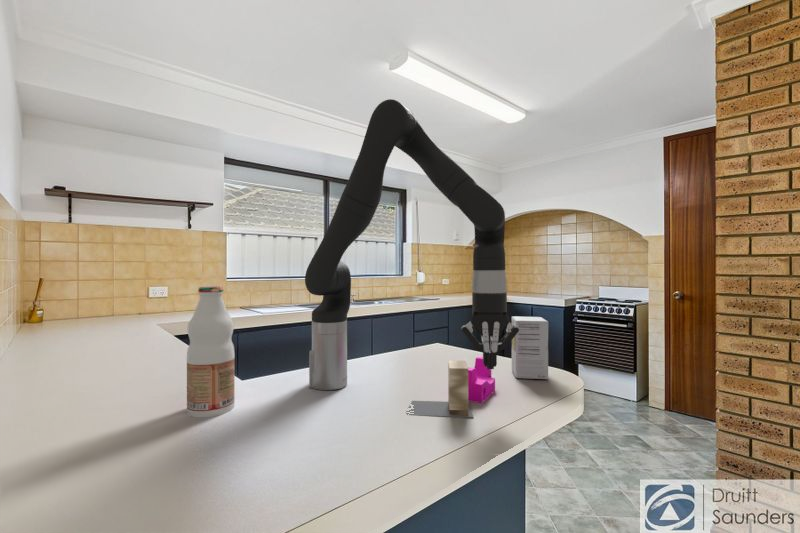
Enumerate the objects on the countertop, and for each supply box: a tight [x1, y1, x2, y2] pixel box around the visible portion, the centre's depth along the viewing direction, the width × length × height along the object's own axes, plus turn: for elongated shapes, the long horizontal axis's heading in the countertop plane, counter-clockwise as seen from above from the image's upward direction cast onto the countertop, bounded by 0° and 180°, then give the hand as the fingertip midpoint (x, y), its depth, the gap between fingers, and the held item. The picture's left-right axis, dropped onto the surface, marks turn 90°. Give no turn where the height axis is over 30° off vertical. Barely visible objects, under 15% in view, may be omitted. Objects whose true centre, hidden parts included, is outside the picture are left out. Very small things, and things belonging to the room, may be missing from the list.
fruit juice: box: [186, 286, 236, 418], centre depth 85 cm, size 9×9×28 cm
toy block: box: [468, 356, 496, 404], centre depth 100 cm, size 15×6×8 cm, turn 149°
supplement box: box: [511, 315, 549, 380], centre depth 116 cm, size 10×9×17 cm
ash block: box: [447, 360, 469, 415], centre depth 88 cm, size 4×7×10 cm, turn 175°
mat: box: [405, 400, 475, 419], centre depth 88 cm, size 16×9×1 cm, turn 85°
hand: (489, 368), depth 87 cm, fingers closed
